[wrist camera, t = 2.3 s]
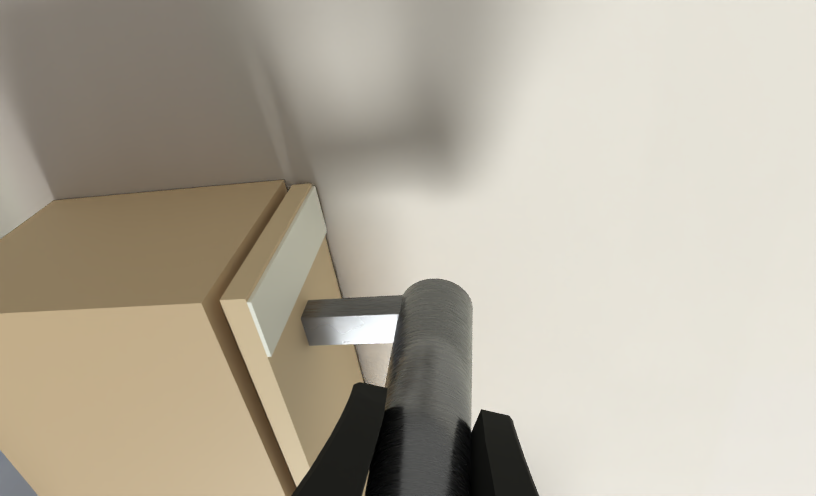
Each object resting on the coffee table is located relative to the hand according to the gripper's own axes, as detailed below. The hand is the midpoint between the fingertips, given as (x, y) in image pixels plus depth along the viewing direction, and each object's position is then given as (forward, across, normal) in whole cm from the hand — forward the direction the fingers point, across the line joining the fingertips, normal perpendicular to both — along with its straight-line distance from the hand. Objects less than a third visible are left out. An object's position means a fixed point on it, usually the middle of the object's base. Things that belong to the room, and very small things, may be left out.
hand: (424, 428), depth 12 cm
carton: (+7, +7, +6) cm, 11 cm away
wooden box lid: (+7, +1, +3) cm, 7 cm away
